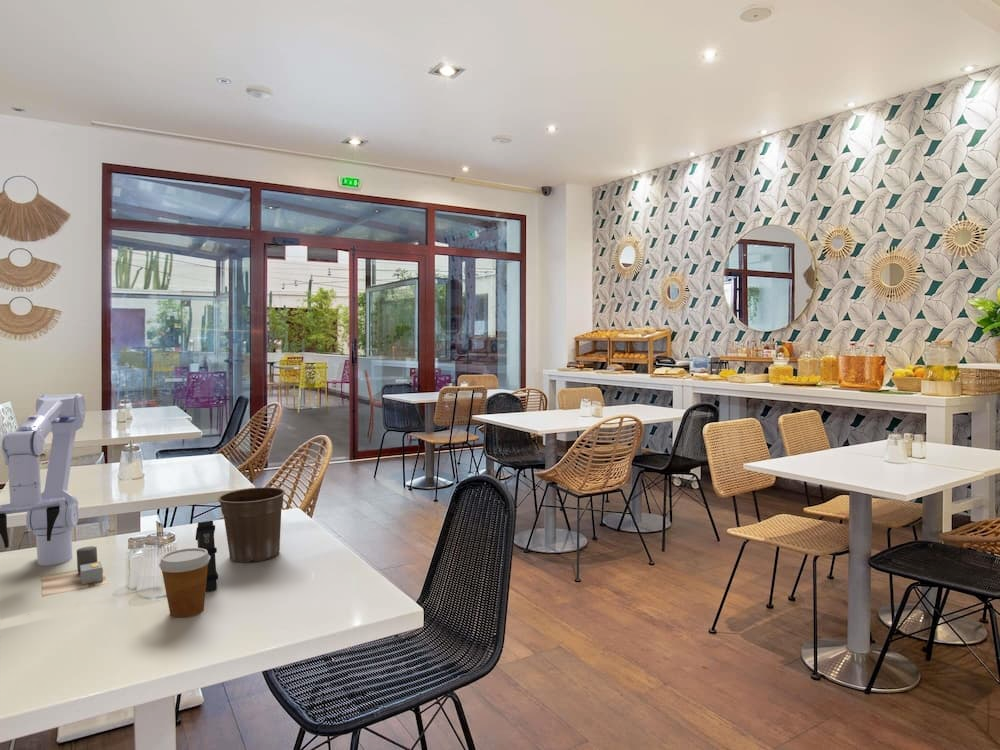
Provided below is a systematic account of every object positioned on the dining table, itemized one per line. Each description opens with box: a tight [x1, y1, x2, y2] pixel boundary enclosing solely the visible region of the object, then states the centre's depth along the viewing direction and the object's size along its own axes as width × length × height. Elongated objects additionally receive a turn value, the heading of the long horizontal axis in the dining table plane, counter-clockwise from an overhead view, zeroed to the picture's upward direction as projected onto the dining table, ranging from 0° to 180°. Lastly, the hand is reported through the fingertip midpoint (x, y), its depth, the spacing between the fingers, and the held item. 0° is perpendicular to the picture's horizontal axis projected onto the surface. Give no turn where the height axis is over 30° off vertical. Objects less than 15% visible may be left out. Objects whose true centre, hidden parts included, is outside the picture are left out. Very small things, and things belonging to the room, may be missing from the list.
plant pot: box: [217, 486, 286, 563], centre depth 168 cm, size 16×16×16 cm
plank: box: [40, 567, 108, 597], centre depth 149 cm, size 15×12×2 cm
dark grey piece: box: [76, 545, 98, 574], centre depth 153 cm, size 4×4×7 cm
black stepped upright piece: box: [195, 520, 219, 593], centre depth 149 cm, size 4×13×15 cm, turn 28°
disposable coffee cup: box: [158, 547, 210, 619], centre depth 133 cm, size 10×10×12 cm
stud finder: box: [79, 561, 104, 584], centre depth 148 cm, size 5×4×3 cm
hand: (28, 543), depth 147 cm, fingers open, 7 cm apart
